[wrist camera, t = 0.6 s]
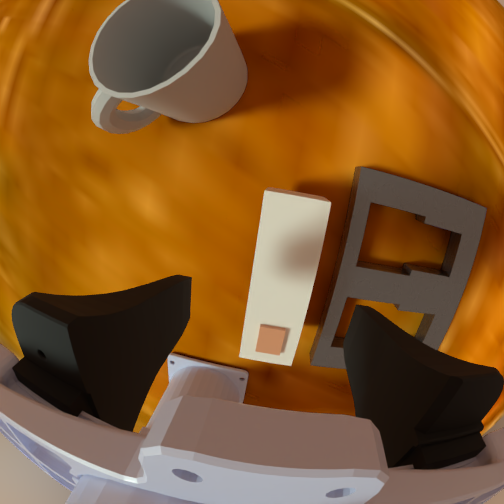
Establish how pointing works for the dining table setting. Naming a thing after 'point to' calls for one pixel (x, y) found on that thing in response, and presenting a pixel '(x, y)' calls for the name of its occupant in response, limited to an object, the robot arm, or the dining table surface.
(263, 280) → the power strip
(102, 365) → the robot arm
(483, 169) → the dining table surface
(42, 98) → the dining table surface
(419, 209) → the keyhole plate
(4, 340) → the dining table surface
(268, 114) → the dining table surface
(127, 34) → the cup
